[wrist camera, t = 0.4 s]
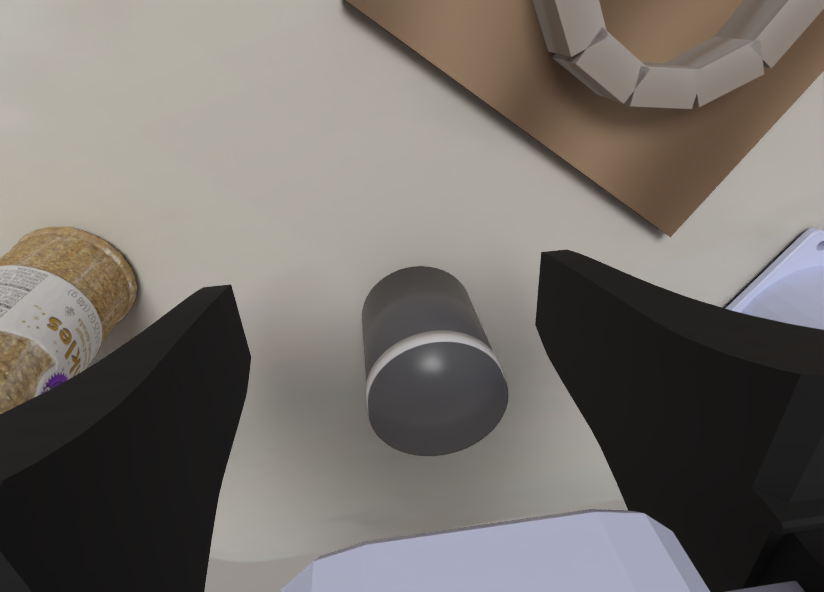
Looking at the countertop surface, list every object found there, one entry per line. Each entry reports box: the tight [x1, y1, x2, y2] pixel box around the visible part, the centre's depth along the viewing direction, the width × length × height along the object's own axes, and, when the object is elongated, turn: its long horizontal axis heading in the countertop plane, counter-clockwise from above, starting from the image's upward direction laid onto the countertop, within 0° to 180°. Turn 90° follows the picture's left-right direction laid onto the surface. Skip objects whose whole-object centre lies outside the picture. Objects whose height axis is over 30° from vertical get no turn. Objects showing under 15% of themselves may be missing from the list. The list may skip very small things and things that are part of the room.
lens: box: [362, 266, 508, 456], centre depth 20 cm, size 5×5×6 cm
